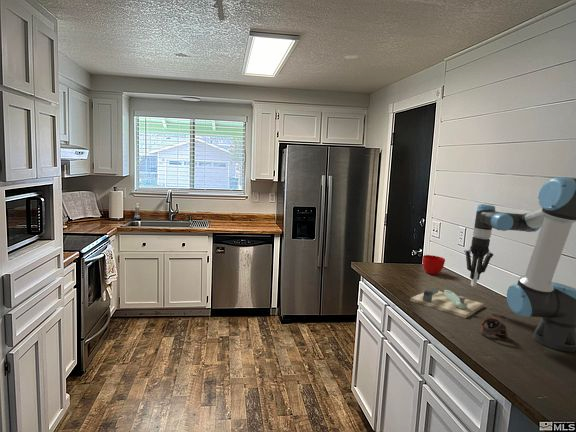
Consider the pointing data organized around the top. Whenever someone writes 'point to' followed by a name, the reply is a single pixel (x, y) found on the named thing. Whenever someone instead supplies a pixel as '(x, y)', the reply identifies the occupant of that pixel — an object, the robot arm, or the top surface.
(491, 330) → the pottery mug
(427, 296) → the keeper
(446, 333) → the top surface
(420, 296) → the base board
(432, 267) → the ceramic cup
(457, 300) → the link
